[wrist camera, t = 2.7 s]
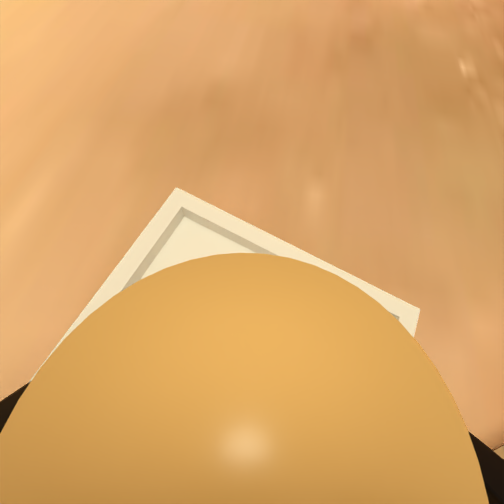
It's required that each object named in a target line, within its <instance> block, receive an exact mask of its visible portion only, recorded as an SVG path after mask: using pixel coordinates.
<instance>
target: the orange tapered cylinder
mask: <svg viewBox="0 0 504 504" xmlns="http://www.w3.org/2000/svg"><path fill="white" fill-rule="evenodd" d="M0 504H489V501H488V497H487V493H486V489H485V485H484V481H483V477H482V473H481V469H480V465H479V461H478V458H477V455H476V453H475V450H474V447H473V444H472V441H471V438H470V435H469V432H468V430H467V427H466V425H465V423H464V420H463V418H462V416H461V414H460V412H459V409H458V407H457V405H456V403H455V401H454V398H453V396H452V395H451V393H450V391H449V389H448V388H447V386H446V384H445V382H444V381H443V379H442V377H441V375H440V374H439V372H438V370H437V368H436V367H435V366H434V364H433V363H432V361H431V360H430V359H429V357H428V356H427V354H426V353H425V352H424V350H423V349H422V347H421V346H420V345H419V343H418V342H417V341H416V340H415V339H414V338H413V336H412V335H411V334H410V333H409V332H408V331H407V330H406V328H405V327H404V326H403V325H402V324H401V323H400V322H399V321H398V320H397V319H396V318H395V317H394V316H393V315H392V314H391V313H390V312H388V311H387V310H386V309H385V308H384V307H383V306H382V305H381V304H380V303H379V302H377V301H376V300H375V299H373V298H372V297H370V296H369V295H368V294H366V293H365V292H364V291H362V290H361V289H360V288H358V287H357V286H355V285H353V284H351V283H350V282H348V281H346V280H344V279H343V278H341V277H339V276H338V275H336V274H333V273H331V272H329V271H326V270H324V269H322V268H320V267H317V266H315V265H312V264H309V263H306V262H302V261H299V260H295V259H292V258H288V257H282V256H276V255H270V254H261V253H230V254H217V255H211V256H207V257H202V258H197V259H192V260H188V261H185V262H182V263H179V264H176V265H173V266H170V267H167V268H164V269H162V270H160V271H158V272H156V273H154V274H152V275H149V276H147V277H145V278H143V279H141V280H139V281H137V282H136V283H134V284H132V285H131V286H129V287H128V288H126V289H124V290H123V291H121V292H119V293H118V294H116V295H115V296H113V297H112V298H111V299H109V300H108V301H107V302H105V303H104V304H103V305H102V306H100V307H99V308H98V309H96V310H95V311H94V312H93V313H91V314H90V315H89V316H88V317H87V318H86V319H85V320H84V321H83V322H81V323H80V324H79V325H78V326H77V327H76V328H75V329H74V330H73V331H72V332H71V333H70V334H69V335H68V336H67V337H66V338H65V339H64V340H63V341H62V342H61V344H60V345H59V346H58V347H57V348H56V350H55V351H54V352H53V353H52V354H51V356H50V357H49V358H48V359H47V360H46V362H45V363H44V364H43V365H42V366H41V368H40V369H39V370H38V372H37V373H36V375H35V376H34V378H33V379H32V381H31V382H30V384H29V385H28V387H27V388H26V390H25V391H24V393H23V394H22V396H21V397H20V398H19V400H18V402H17V404H16V405H15V407H14V409H13V411H12V413H11V415H10V417H9V418H8V420H7V422H6V424H5V426H4V428H3V429H2V431H1V433H0Z"/></svg>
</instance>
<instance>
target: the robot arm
mask: <svg viewBox="0 0 504 504" xmlns="http://www.w3.org/2000/svg"><path fill="white" fill-rule="evenodd" d="M30 382H31V381H30ZM30 382H29V383H27V384H26V385H24V386H23V387H21V388H20V389H18V390H17V391H15V392H14V393H12V394H11V395H9V396H8V397H6V398H5V399H3V400H2V401H0V433H1V431H2V429H3V428H4V426H5V424H6V422H7V420H8V418H9V417H10V415H11V413H12V411H13V409H14V407H15V405H16V404H17V402H18V400H19V398H20V397H21V396H22V394H23V393H24V391H25V390H26V388H27V387H28V385H29V384H30ZM468 432H469V431H468ZM469 435H470V438H471V441H472V444H473V447H474V450H475V453H476V455H477V458H478V461H479V465H480V469H481V473H482V477H483V481H484V485H485V489H486V493H487V497H488V501H489V504H504V459H503V458H501V457H500V456H499V455H498V454H496V453H495V452H494V451H493V450H491V449H490V448H489V447H488V446H486V445H485V444H484V443H483V442H481V441H480V440H479V439H478V438H476V437H475V436H474V435H473V434H471V433H470V432H469Z"/></svg>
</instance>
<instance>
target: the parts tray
mask: <svg viewBox="0 0 504 504" xmlns="http://www.w3.org/2000/svg"><path fill="white" fill-rule="evenodd" d="M230 253H261V254H270V255H276V256H282V257H288V258H292V259H295V260H299V261H302V262H306V263H309V264H312V265H315V266H317V267H320V268H322V269H324V270H326V271H329V272H331V273H333V274H336V275H338V276H339V277H341V278H343V279H344V280H346V281H348V282H350V283H351V284H353V285H355V286H357V287H358V288H360V289H361V290H362V291H364V292H365V293H366V294H368V295H369V296H370V297H372V298H373V299H375V300H376V301H377V302H379V303H380V304H381V305H382V306H383V307H384V308H385V309H386V310H387V311H388V312H390V313H391V314H392V315H393V316H394V317H395V318H396V319H397V320H398V321H399V322H400V323H401V324H402V325H403V326H404V327H405V328H406V330H407V331H408V332H409V333H410V334H411V335H412V336H413V338H414V334H415V330H416V326H417V321H418V317H419V313H420V309H419V308H417V307H415V306H413V305H411V304H409V303H407V302H405V301H403V300H401V299H399V298H397V297H395V296H393V295H391V294H389V293H387V292H385V291H383V290H381V289H379V288H377V287H375V286H373V285H371V284H369V283H367V282H365V281H363V280H361V279H359V278H357V277H355V276H353V275H351V274H349V273H347V272H345V271H343V270H341V269H339V268H337V267H335V266H333V265H331V264H329V263H327V262H325V261H323V260H321V259H319V258H317V257H315V256H313V255H311V254H309V253H307V252H305V251H303V250H301V249H299V248H297V247H295V246H293V245H291V244H289V243H287V242H285V241H283V240H281V239H279V238H277V237H275V236H273V235H271V234H269V233H267V232H265V231H263V230H261V229H259V228H257V227H255V226H253V225H251V224H249V223H247V222H245V221H243V220H241V219H239V218H237V217H235V216H233V215H231V214H229V213H227V212H225V211H223V210H221V209H219V208H217V207H215V206H213V205H211V204H209V203H207V202H205V201H203V200H201V199H199V198H197V197H195V196H193V195H191V194H189V193H187V192H185V191H183V190H181V189H179V188H177V187H176V188H175V190H174V191H173V192H172V194H171V195H170V196H169V198H168V199H167V200H166V202H165V203H164V204H163V206H162V207H161V208H160V209H159V211H158V212H157V213H156V215H155V216H154V217H153V219H152V220H151V221H150V223H149V224H148V225H147V227H146V228H145V229H144V231H143V232H142V233H141V235H140V236H139V237H138V239H137V240H136V241H135V242H134V244H133V245H132V246H131V248H130V249H129V250H128V252H127V253H126V254H125V256H124V257H123V258H122V260H121V261H120V262H119V264H118V265H117V266H116V268H115V269H114V270H113V272H112V273H111V274H110V276H109V277H108V278H107V279H106V281H105V282H104V283H103V285H102V286H101V287H100V289H99V290H98V291H97V293H96V294H95V295H94V297H93V298H92V299H91V301H90V302H89V303H88V305H87V306H86V307H85V309H84V310H83V311H82V312H81V314H80V315H79V316H78V318H77V319H76V320H75V322H74V323H73V324H72V326H71V327H70V328H69V330H68V331H67V332H66V334H65V335H64V336H63V338H62V339H61V340H60V342H59V343H58V344H57V346H56V347H55V348H54V349H53V351H52V352H51V353H50V355H49V356H48V357H47V359H48V358H49V357H50V356H51V354H52V353H53V352H54V351H55V350H56V348H57V347H58V346H59V345H60V344H61V342H62V341H63V340H64V339H65V338H66V337H67V336H68V335H69V334H70V333H71V332H72V331H73V330H74V329H75V328H76V327H77V326H78V325H79V324H80V323H81V322H83V321H84V320H85V319H86V318H87V317H88V316H89V315H90V314H91V313H93V312H94V311H95V310H96V309H98V308H99V307H100V306H102V305H103V304H104V303H105V302H107V301H108V300H109V299H111V298H112V297H113V296H115V295H116V294H118V293H119V292H121V291H123V290H124V289H126V288H128V287H129V286H131V285H132V284H134V283H136V282H137V281H139V280H141V279H143V278H145V277H147V276H149V275H152V274H154V273H156V272H158V271H160V270H162V269H164V268H167V267H170V266H173V265H176V264H179V263H182V262H185V261H188V260H192V259H197V258H202V257H207V256H211V255H217V254H230ZM47 359H46V360H47ZM46 360H45V361H44V363H45V362H46ZM44 363H43V364H44ZM43 364H42V365H43ZM42 365H41V366H42ZM40 368H41V367H40ZM40 368H39V369H40ZM39 369H38V370H39ZM37 372H38V371H37ZM37 372H36V373H37ZM36 373H35V375H36ZM35 375H34V376H35ZM34 376H33V377H32V379H33V378H34ZM32 379H31V380H30V381H32ZM30 381H29V382H30ZM29 382H28V383H29Z"/></svg>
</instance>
